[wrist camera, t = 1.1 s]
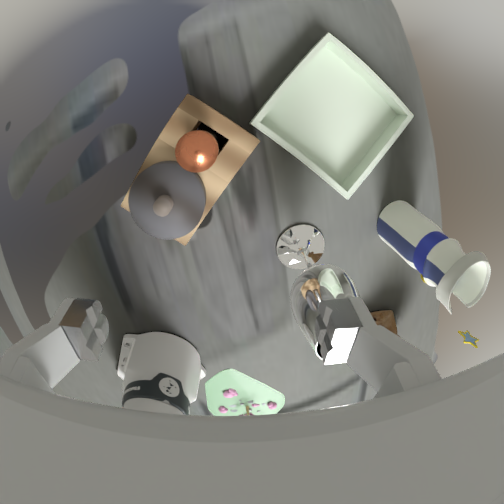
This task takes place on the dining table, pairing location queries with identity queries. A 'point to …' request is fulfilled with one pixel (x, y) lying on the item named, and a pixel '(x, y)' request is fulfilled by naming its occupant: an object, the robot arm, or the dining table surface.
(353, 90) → the tray
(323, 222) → the dining table surface
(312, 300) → the wineglass
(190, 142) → the lock pin
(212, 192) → the block
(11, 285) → the dining table surface
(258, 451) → the robot arm
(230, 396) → the plant
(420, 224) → the water bottle
